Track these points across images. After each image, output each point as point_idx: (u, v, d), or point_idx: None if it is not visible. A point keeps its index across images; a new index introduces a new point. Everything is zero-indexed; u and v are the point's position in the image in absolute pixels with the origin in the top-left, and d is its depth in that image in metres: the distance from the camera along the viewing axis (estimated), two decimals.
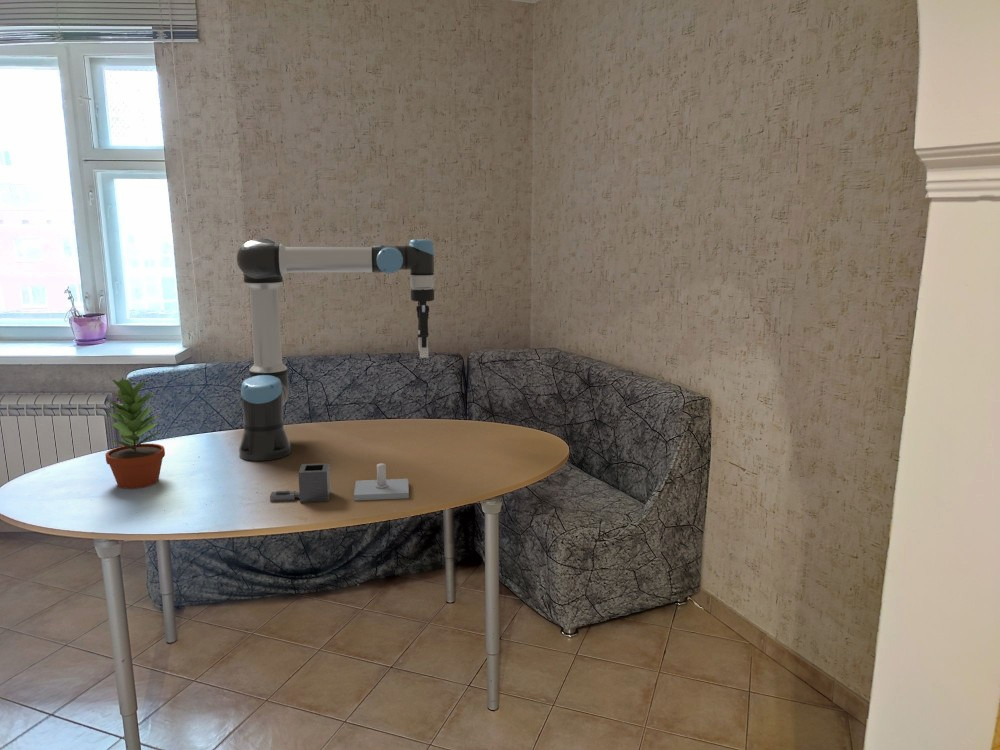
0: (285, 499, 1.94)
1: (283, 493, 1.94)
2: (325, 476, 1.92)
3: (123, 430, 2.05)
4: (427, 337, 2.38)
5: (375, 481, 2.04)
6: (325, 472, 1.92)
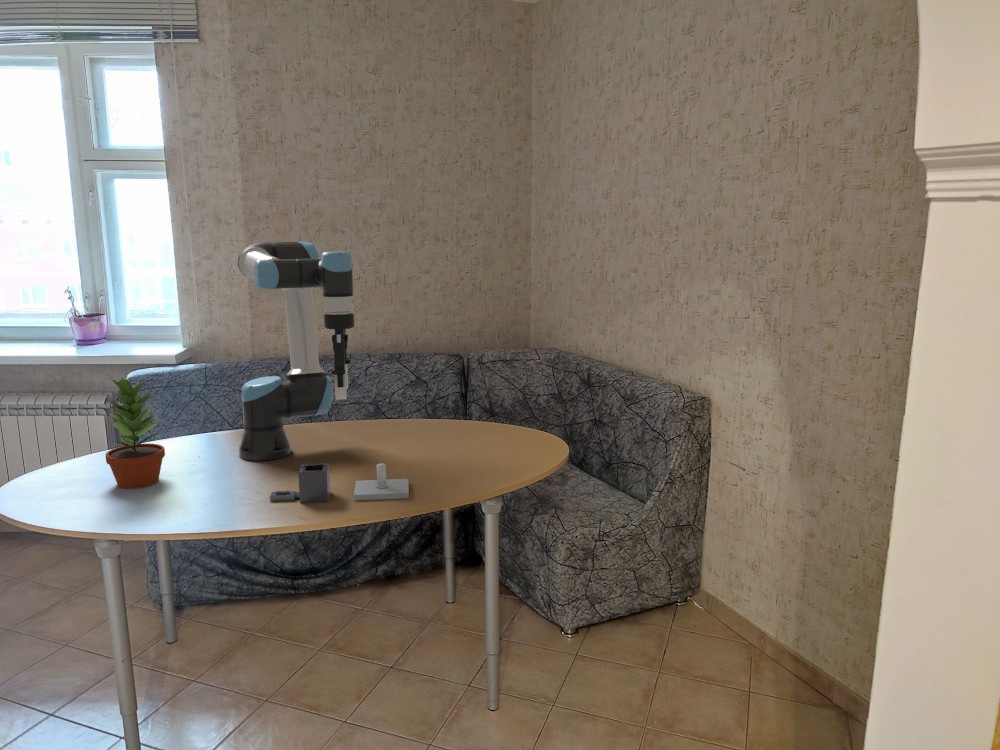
0: (285, 499, 1.94)
1: (283, 493, 1.94)
2: (325, 476, 1.92)
3: (123, 430, 2.05)
4: (344, 374, 1.90)
5: (375, 481, 2.04)
6: (325, 472, 1.92)
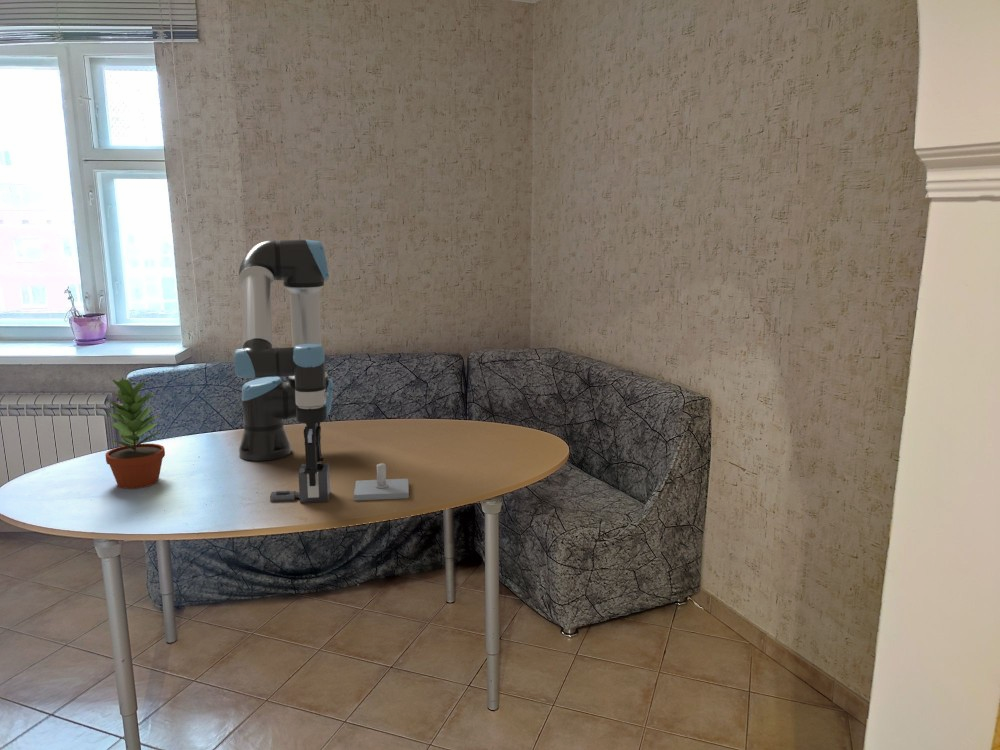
0: (285, 499, 1.94)
1: (283, 493, 1.94)
2: (325, 476, 1.92)
3: (123, 430, 2.05)
4: (316, 473, 1.91)
5: (375, 481, 2.04)
6: (325, 472, 1.92)
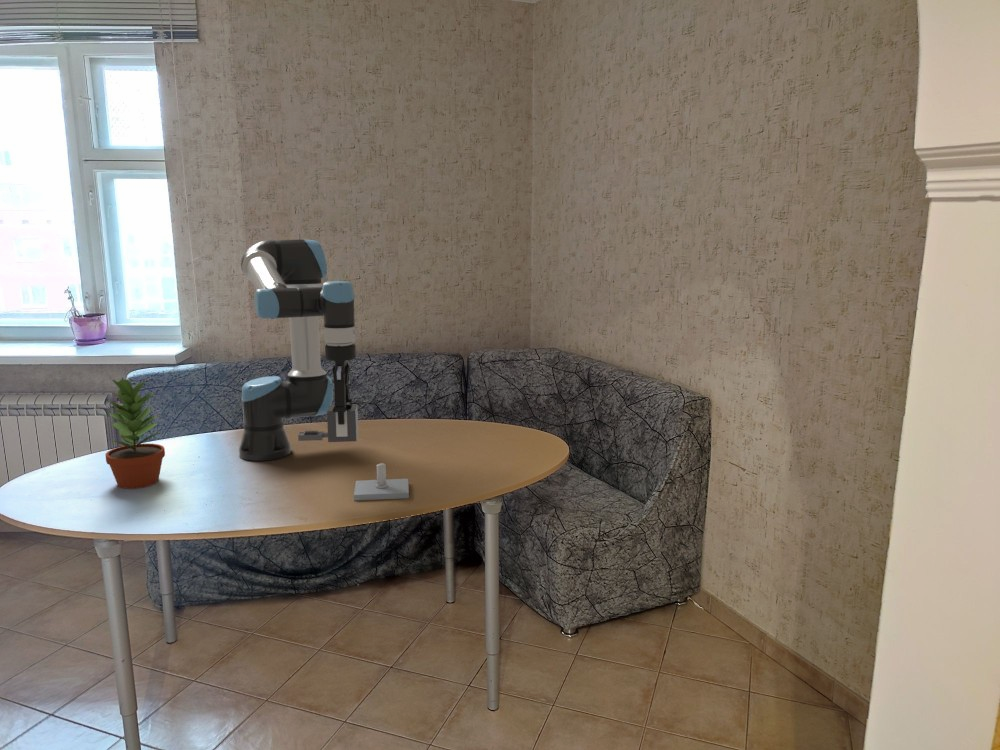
0: (313, 439, 1.92)
1: (311, 433, 1.93)
2: (354, 415, 1.90)
3: (123, 430, 2.05)
4: (345, 411, 1.89)
5: (375, 481, 2.04)
6: (354, 411, 1.90)
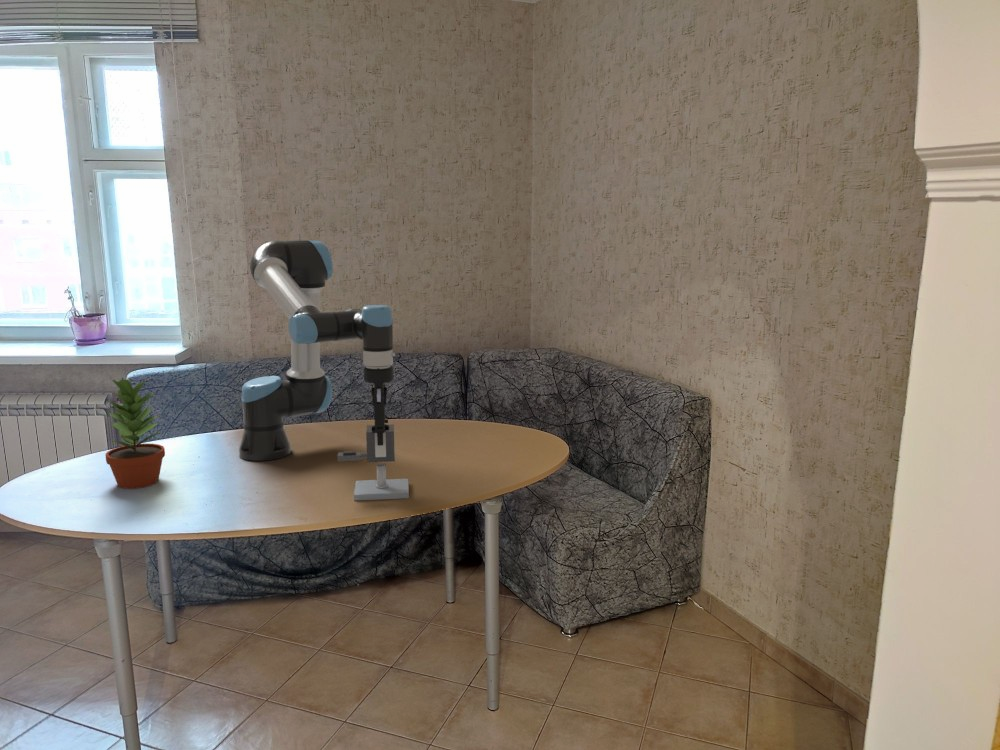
0: (352, 459, 1.96)
1: (350, 453, 1.96)
2: (392, 436, 1.94)
3: (123, 430, 2.05)
4: (384, 432, 1.93)
5: (375, 481, 2.04)
6: (392, 432, 1.94)
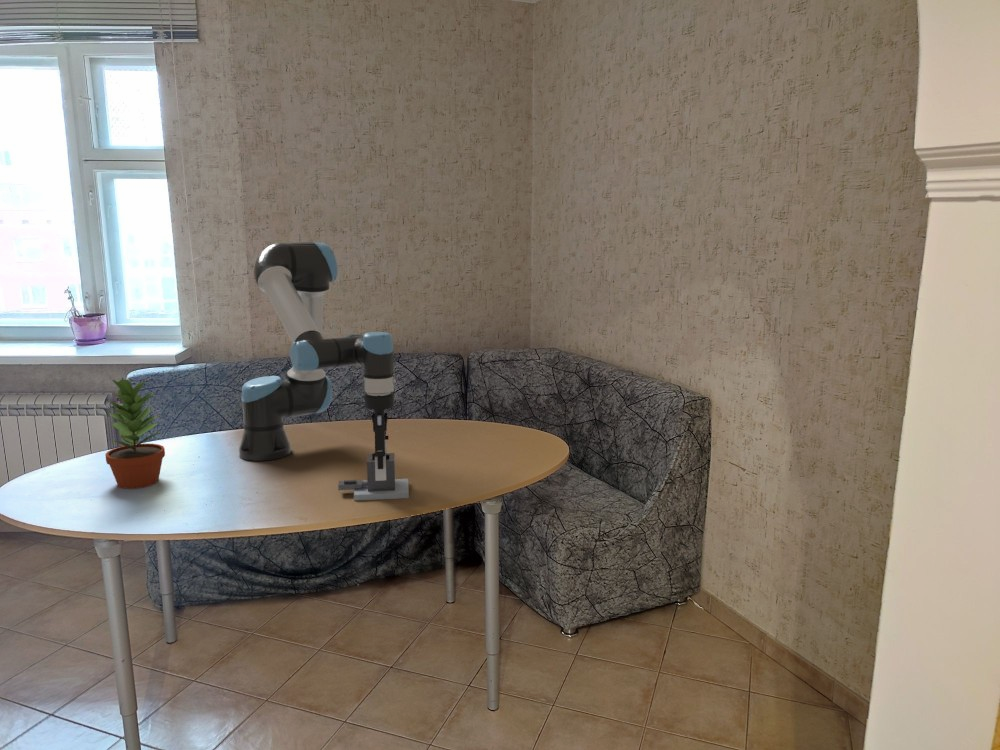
0: (353, 488, 1.97)
1: (351, 482, 1.98)
2: (393, 465, 1.96)
3: (123, 430, 2.05)
4: (384, 456, 1.91)
5: None
6: (393, 461, 1.96)
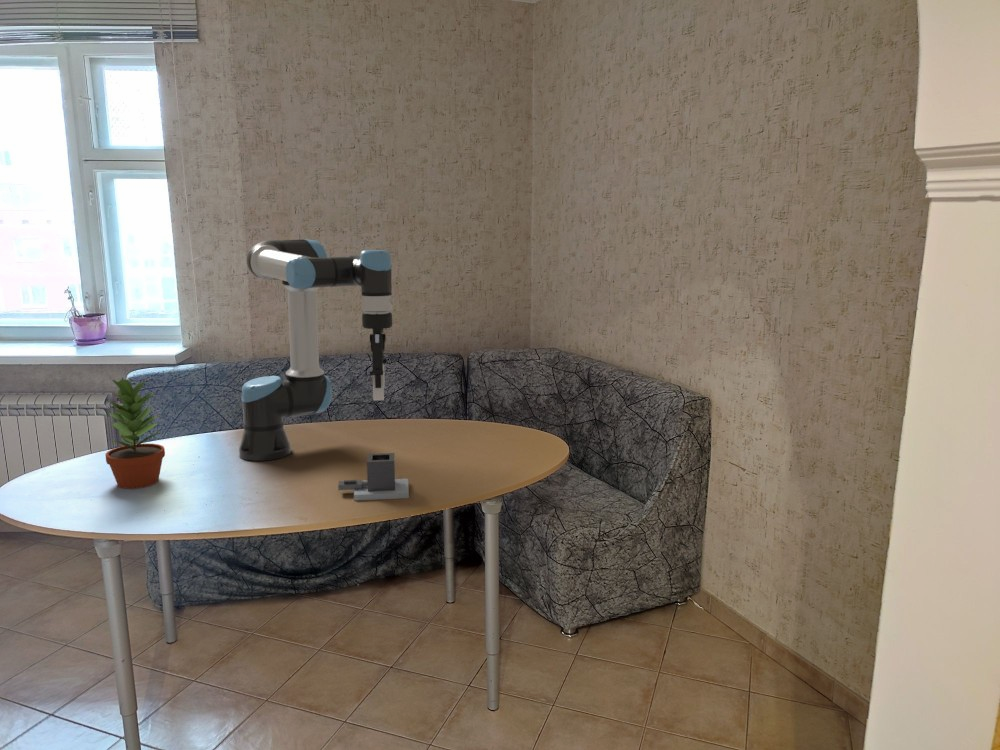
0: (353, 488, 1.97)
1: (351, 482, 1.98)
2: (393, 465, 1.96)
3: (123, 430, 2.05)
4: (382, 375, 1.87)
5: None
6: (393, 461, 1.96)
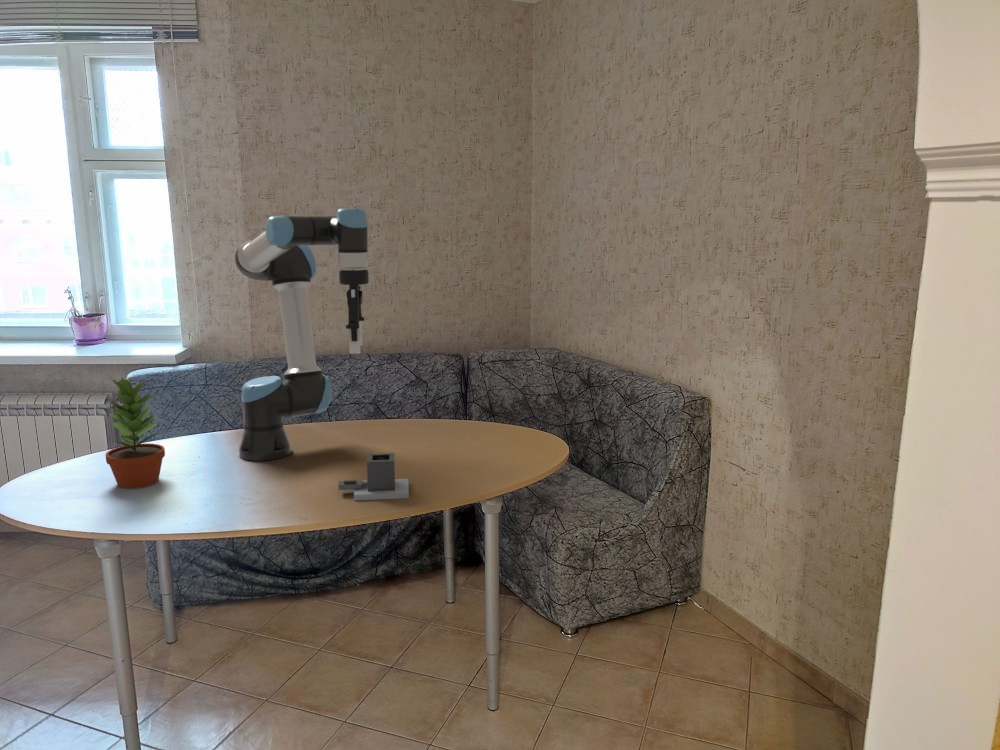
0: (353, 488, 1.97)
1: (351, 482, 1.98)
2: (393, 465, 1.96)
3: (123, 430, 2.05)
4: (358, 328, 1.94)
5: None
6: (393, 461, 1.96)
